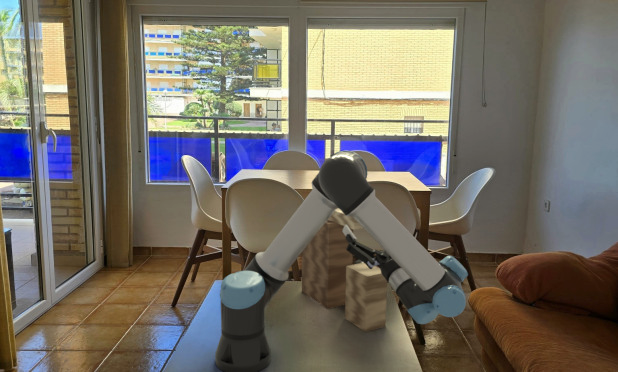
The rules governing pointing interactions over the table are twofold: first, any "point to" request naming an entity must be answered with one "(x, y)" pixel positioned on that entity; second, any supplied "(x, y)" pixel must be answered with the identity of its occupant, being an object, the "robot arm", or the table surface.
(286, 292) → the table surface
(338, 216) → the wooden block
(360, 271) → the base pedestal
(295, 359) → the table surface
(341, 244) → the stand
